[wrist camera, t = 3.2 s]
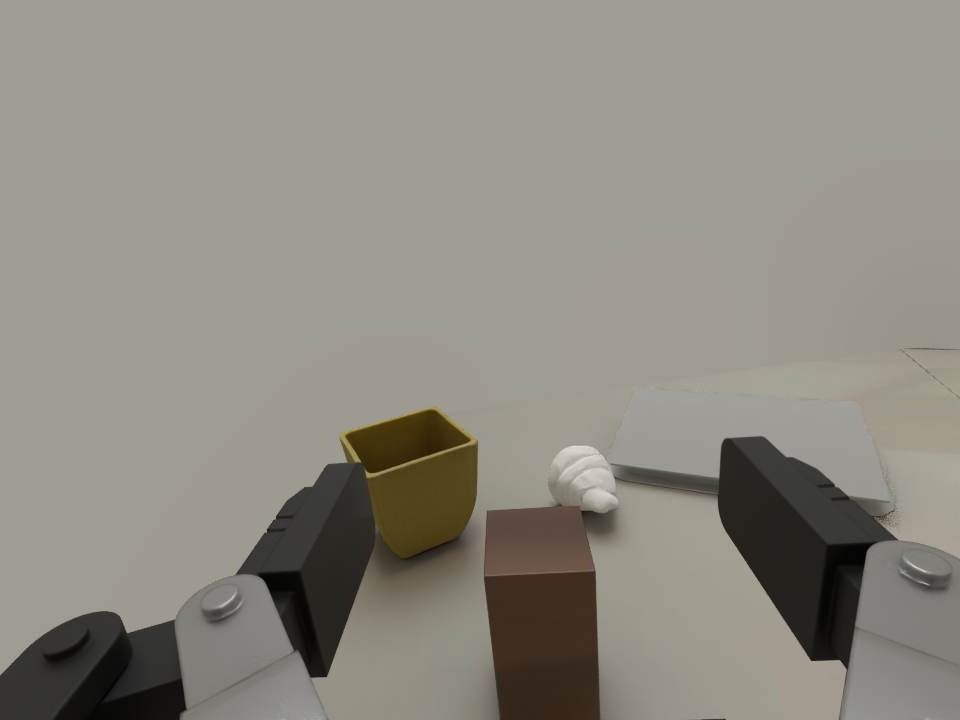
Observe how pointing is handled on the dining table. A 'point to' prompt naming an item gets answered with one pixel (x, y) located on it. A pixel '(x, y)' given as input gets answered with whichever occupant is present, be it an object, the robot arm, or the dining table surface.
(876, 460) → the book
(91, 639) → the robot arm
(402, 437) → the flower pot
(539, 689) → the walnut block middle
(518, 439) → the dining table surface
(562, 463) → the white swirl cone
